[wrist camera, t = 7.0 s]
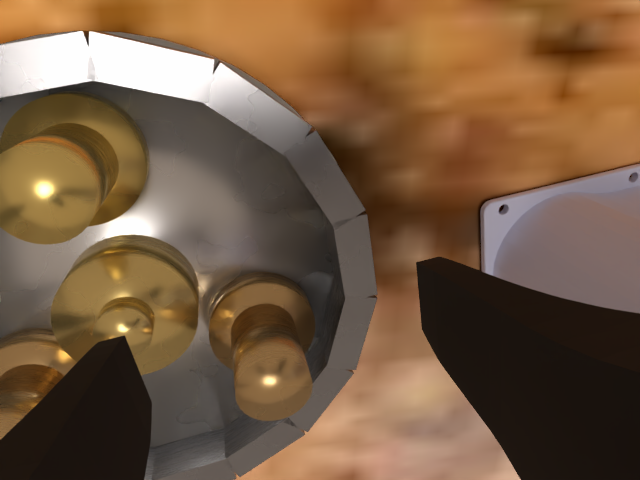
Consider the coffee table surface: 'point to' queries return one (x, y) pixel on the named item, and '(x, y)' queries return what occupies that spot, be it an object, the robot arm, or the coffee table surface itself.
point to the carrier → (193, 258)
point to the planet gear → (69, 166)
